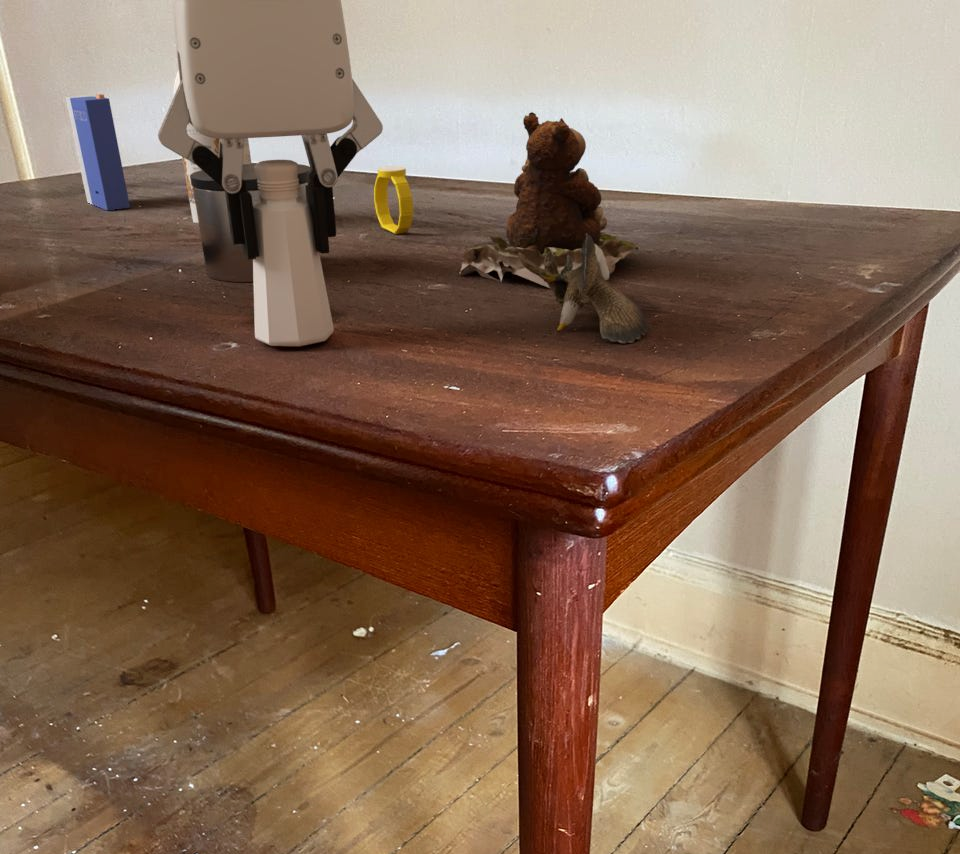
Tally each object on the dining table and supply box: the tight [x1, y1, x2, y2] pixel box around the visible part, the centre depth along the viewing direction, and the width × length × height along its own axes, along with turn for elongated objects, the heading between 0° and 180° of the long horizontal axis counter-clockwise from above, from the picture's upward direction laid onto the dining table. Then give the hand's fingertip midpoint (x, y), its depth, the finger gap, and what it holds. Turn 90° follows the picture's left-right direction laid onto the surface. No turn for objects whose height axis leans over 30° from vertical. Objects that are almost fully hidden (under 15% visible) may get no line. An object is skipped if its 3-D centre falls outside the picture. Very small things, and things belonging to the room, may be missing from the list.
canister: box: [190, 163, 322, 283], centre depth 90 cm, size 10×10×8 cm
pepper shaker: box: [252, 159, 335, 347], centre depth 69 cm, size 5×5×11 cm
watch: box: [373, 165, 414, 235], centre depth 104 cm, size 6×3×6 cm, turn 31°
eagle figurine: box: [518, 233, 649, 345], centre depth 71 cm, size 8×7×9 cm
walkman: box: [65, 93, 131, 211], centre depth 123 cm, size 8×3×12 cm, turn 35°
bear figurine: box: [458, 112, 639, 289], centre depth 86 cm, size 14×15×12 cm
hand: (285, 249), depth 69 cm, fingers closed on pepper shaker, 4 cm apart
